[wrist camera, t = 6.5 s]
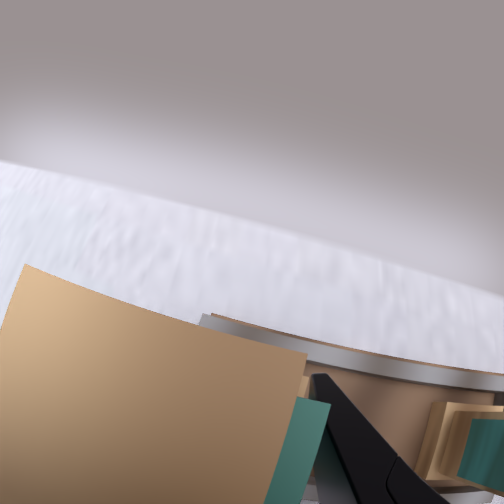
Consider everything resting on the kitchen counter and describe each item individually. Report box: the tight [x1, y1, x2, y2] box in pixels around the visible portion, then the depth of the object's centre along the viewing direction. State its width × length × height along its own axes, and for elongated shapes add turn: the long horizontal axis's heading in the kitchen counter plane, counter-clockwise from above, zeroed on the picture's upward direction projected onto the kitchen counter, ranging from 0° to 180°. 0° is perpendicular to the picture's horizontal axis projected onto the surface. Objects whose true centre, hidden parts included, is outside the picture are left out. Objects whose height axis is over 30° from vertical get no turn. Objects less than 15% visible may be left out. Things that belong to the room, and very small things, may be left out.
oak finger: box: [0, 264, 331, 504], centre depth 8 cm, size 5×5×13 cm
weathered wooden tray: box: [199, 313, 504, 504], centre depth 11 cm, size 22×10×14 cm, turn 74°
